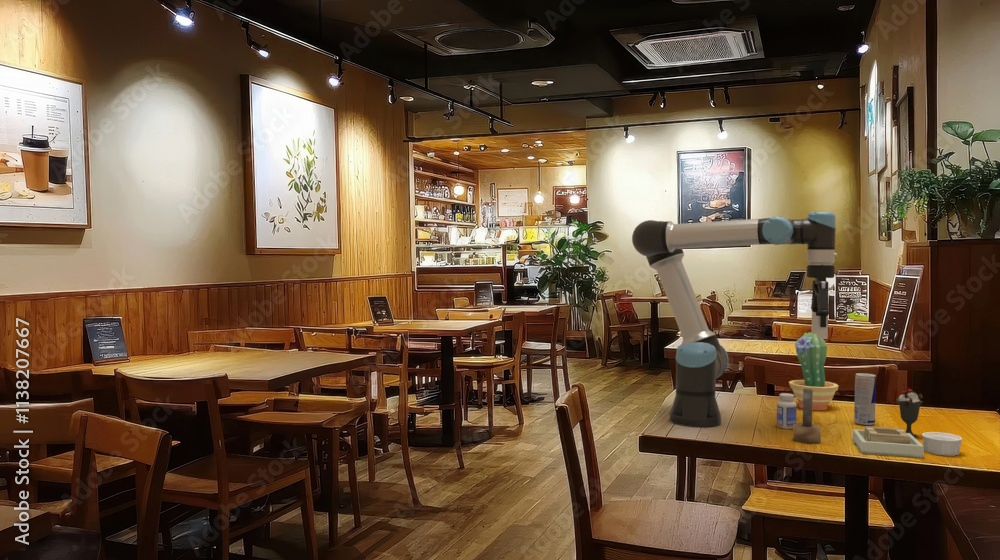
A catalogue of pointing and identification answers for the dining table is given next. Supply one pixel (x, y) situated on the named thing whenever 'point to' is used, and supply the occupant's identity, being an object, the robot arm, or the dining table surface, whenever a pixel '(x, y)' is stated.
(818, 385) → the potted cactus
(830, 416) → the dining table surface
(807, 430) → the stake
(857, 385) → the beverage can
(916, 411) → the sundae
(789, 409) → the pill bottle
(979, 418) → the dining table surface
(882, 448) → the tray
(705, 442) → the dining table surface
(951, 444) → the ramekin
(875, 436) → the ring
